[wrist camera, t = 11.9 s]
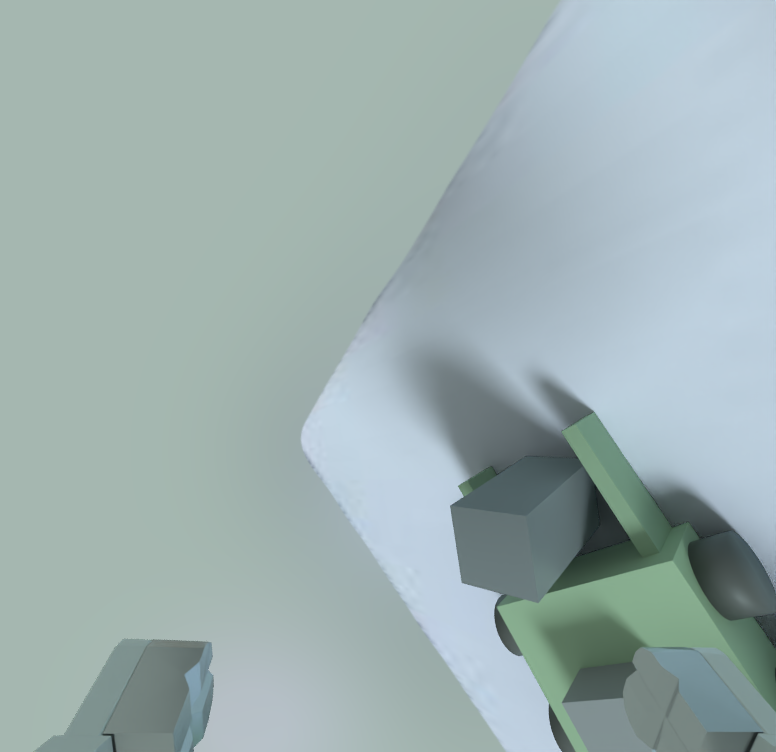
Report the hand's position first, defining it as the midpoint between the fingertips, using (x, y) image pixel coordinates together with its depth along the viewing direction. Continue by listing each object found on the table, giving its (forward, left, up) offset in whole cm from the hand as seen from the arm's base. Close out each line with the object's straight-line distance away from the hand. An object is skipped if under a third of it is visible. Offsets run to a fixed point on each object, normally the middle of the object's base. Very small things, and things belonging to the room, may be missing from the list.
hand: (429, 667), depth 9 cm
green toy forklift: (+9, +8, -24) cm, 27 cm away
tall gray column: (+9, +2, -24) cm, 26 cm away
